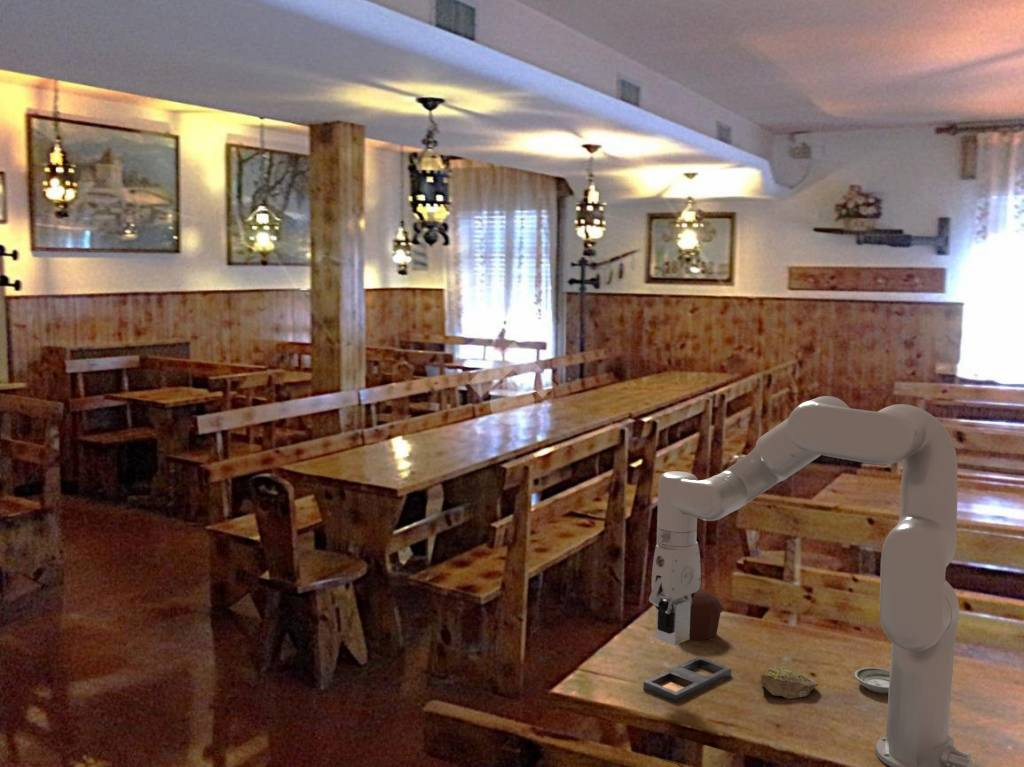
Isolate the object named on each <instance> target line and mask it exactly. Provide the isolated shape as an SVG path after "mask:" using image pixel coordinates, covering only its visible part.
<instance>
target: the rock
mask: <svg viewBox="0 0 1024 767" xmlns="http://www.w3.org/2000/svg"><path fill="white" fill-rule="evenodd" d="M759 682H760V683H761V685H762V686H763V687H764V688H765V689H766V690H767V692H768V693H770V694H771V695H772V696H777V697H779V696H781V697H783V698H785V699H788V700H792V699H799V698H803V697H807V696H808V695H809V694H811V692H812V691H813V690H814V689H815V688H816V687H818V686H819V683H817V681H815V680H814V679H811V678H810V677H808V676H807V675H805V674H803V673H801V672H799V671H798V670H796V669H794V668H791V667H790V668H789V667H776V666H773V667H770V668H768V670H765V673H764V674H763V675H761V677H760V680H759Z"/></svg>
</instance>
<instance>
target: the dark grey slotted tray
mask: <svg viewBox="0 0 1024 767" xmlns="http://www.w3.org/2000/svg"><path fill="white" fill-rule="evenodd" d="M699 667H700V668H703V669H706V670H709V671H712V672H713V673H712V674H709V675H703V674H701V673H698V672H696V671H693V670H695V669H697V668H699ZM730 676H732V668H731V667H729V666H726V665H723V664H720V663H718V662H715V661H712V660H710V659H706V658H704V657H701V656H697V657H695V658H693V659H690V660H688V661H686V662H684V663H682V664H679V665H677V666H675V667H673V668H670V669H668V670H666V671H664V672H662V673H659V674H657V675H655V676H652V677H651V678H649V679H646V680H644V681H643V690H645V691H647V692H650V693H653V694H655V695H658V696H659V697H661V698H664V699H667V700H669V701H672V702H674V703H679V702H680V701H682V700H684V699H686V698H689V697H691V696H693V695H695V694H696V693H699V692H701V691H703V690H704V689H707V688H710V687H711V686H713V685H715V684H717V683H718V682H721V681H723V680H725V679H727V678H729V677H730Z"/></svg>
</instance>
